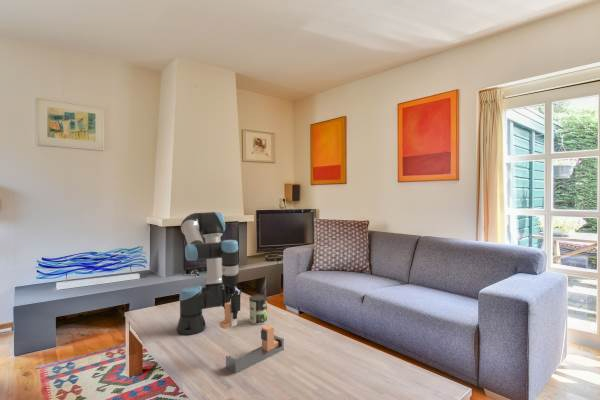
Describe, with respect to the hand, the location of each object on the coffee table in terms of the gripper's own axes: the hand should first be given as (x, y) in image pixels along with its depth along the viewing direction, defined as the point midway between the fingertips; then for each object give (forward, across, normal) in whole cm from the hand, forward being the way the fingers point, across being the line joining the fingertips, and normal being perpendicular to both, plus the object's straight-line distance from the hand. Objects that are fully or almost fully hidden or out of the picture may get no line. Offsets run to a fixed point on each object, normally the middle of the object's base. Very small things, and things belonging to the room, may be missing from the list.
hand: (230, 323), depth 154 cm
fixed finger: (+13, +11, +14) cm, 22 cm away
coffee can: (+15, -21, +34) cm, 43 cm away
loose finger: (0, 0, -1) cm, 1 cm away
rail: (+15, +11, +6) cm, 19 cm away
